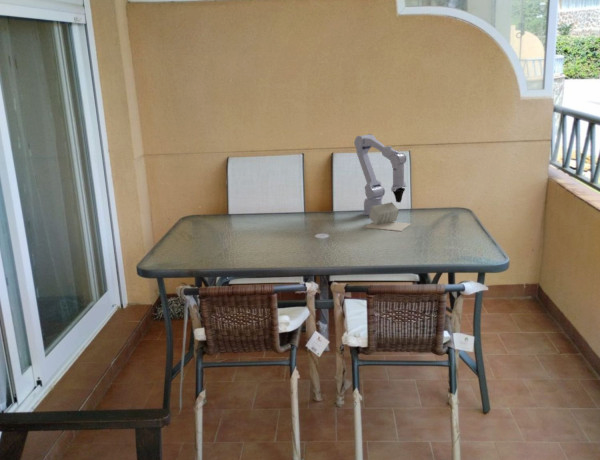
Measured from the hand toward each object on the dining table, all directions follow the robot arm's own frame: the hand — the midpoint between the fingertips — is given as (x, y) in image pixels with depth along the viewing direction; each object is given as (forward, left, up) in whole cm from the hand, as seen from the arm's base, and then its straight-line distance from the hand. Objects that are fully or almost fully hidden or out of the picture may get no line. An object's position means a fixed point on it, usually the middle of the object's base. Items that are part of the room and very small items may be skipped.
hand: (398, 202), depth 316 cm
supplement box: (0, -5, -4) cm, 6 cm away
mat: (0, -14, -9) cm, 17 cm away
